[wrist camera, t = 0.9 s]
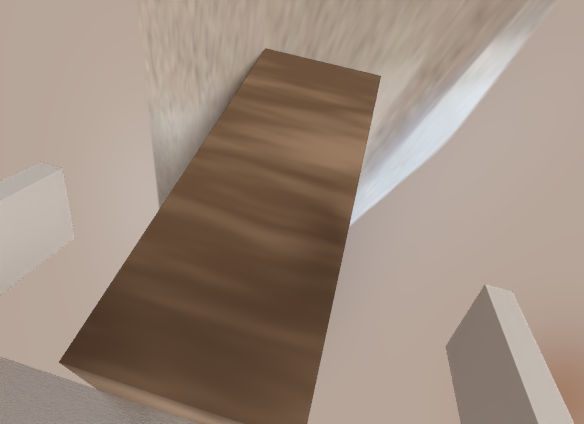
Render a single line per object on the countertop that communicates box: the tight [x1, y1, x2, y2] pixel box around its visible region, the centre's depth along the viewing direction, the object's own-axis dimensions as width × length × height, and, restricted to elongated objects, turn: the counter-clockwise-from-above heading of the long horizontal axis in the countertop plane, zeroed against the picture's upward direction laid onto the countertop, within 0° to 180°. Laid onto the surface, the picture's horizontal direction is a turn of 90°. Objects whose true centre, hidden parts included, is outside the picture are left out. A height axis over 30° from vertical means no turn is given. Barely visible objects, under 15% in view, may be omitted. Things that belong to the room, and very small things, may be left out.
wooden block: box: [59, 49, 381, 424], centre depth 29 cm, size 14×10×28 cm
